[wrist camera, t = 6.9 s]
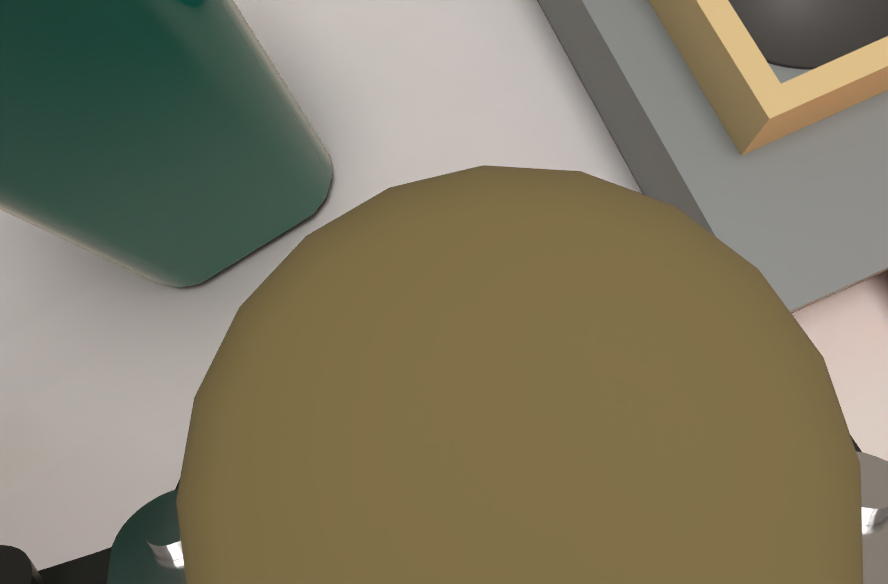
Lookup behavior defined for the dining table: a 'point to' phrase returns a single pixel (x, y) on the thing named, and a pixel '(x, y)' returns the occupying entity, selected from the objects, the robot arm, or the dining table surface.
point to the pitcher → (151, 133)
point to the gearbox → (751, 123)
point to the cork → (518, 404)
